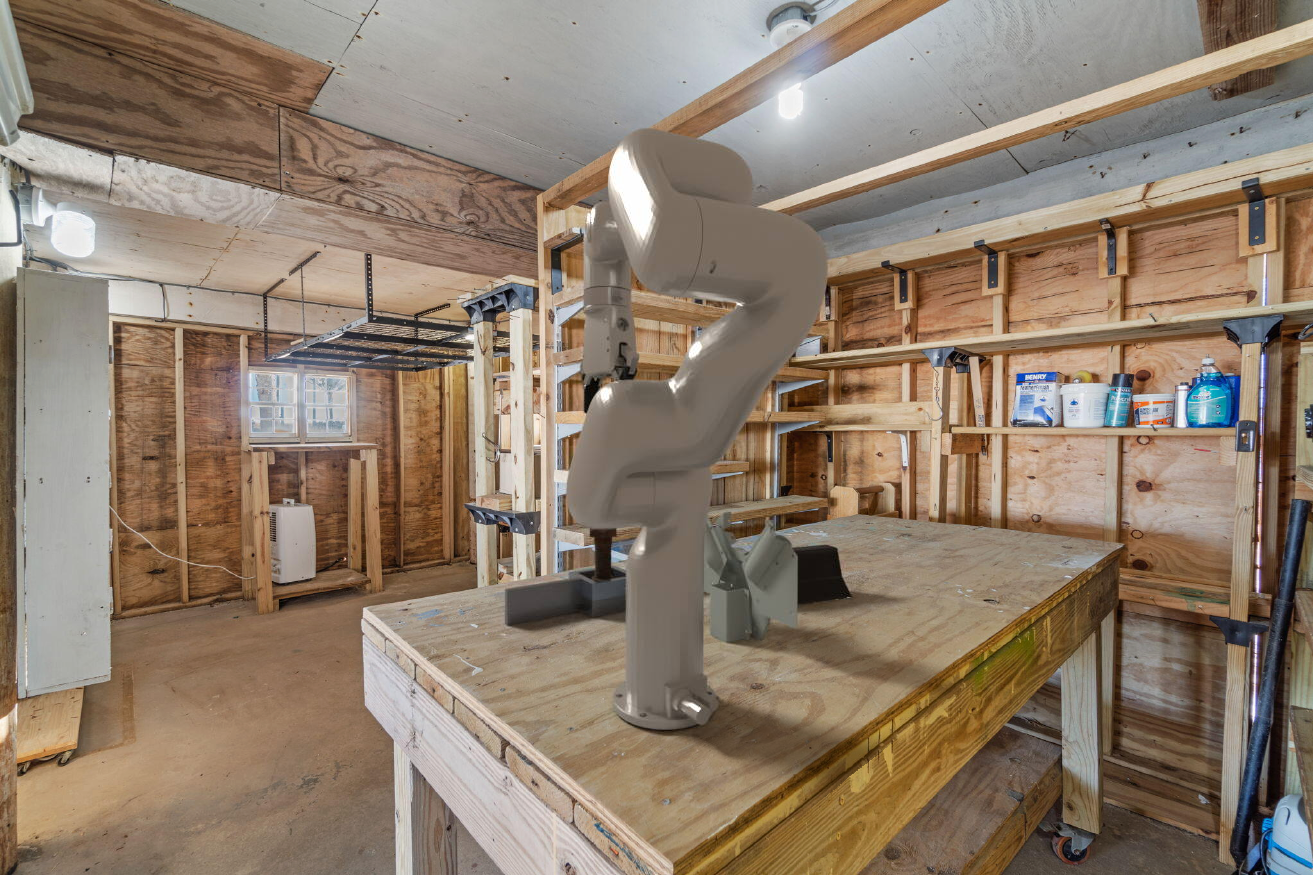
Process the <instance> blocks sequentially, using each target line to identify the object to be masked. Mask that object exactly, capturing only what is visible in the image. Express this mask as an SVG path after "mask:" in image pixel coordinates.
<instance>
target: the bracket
mask: <svg viewBox="0 0 1313 875" xmlns="http://www.w3.org/2000/svg"><path fill="white" fill-rule="evenodd" d="M714 522H715V525H716V526H715V527H714V526H713V524H712V521H711V520H710V517H709V516H708V518H707V524H706V532H705V545H704V592H705V593H707V594H709V596H710V598H709V599H710V601H709V605H710V611H709V612H710V614H709V622H710V624H709V634H710V635H711V636H712V637H714V638H716V639H718V640H720V641H722V642H725V643H728V644H729V643H733V642H737V641H740V640H741V641H742V640H745V641H747V642H749V641H750V633H751V636H752V637H753V638H755V639H757V640H759V641H763V640H764V639H765V635H766V633H767V631H768V627H769V625H770V623H771V620H774V621H777V622H779V623H781V624H784V625H787V626H789V627H792V628H794V629H798V605H797V603H798V556H797V554H796V553H795V552H794V551H793V549H792V548H794V546H793V544H792V542H791V541H790V540H789V538H788V537H786V536H784V535H781V534H777V533H776V532H775V519H770V520H769V519H768V520H765V527H764V528H763V529H762V531H761V533H760V534H759V536H758V538H757V539H756V540H755V542H754V544H753V546H752V547H751V548H750V550H749V551H748V550H746V549H744V548H743V547H733V546H732V545H734V544H735V543H737V539H736V537H735V535H734V533H733V532H730V531H725V530H726V529H727V528H728V527H730V526H732V511H727V512H723V513H721V514H720V516H719V517H718V518H717V519H716V520H715V521H714ZM732 537H733V538H732ZM748 552H749V553H748ZM746 553H748V555H744V554H746ZM792 555H794V556H792Z"/></svg>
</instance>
